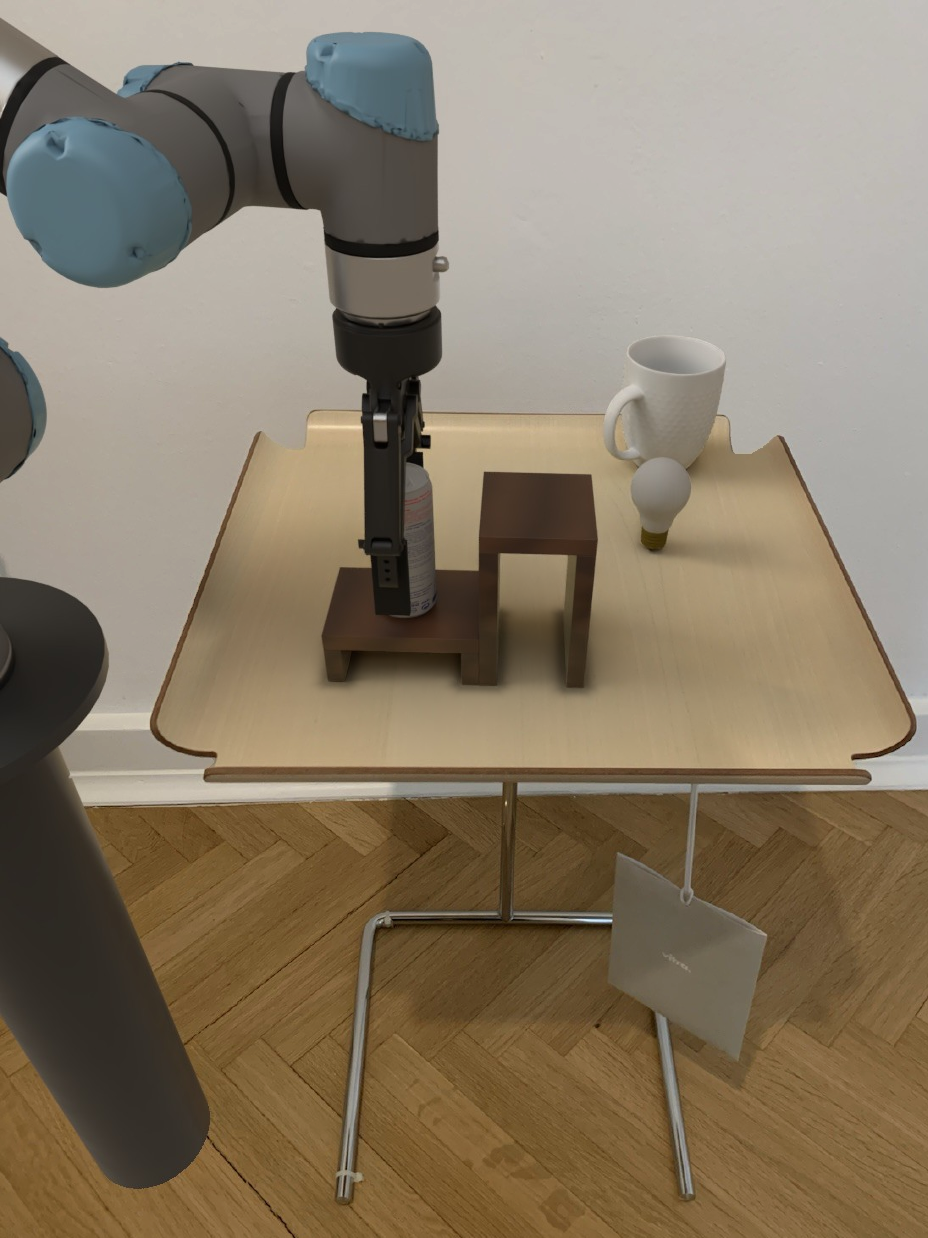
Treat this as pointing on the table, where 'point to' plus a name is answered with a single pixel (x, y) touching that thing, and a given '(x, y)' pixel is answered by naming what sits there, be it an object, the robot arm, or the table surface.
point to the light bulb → (659, 498)
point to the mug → (666, 399)
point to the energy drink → (420, 540)
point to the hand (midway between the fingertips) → (402, 563)
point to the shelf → (482, 582)
